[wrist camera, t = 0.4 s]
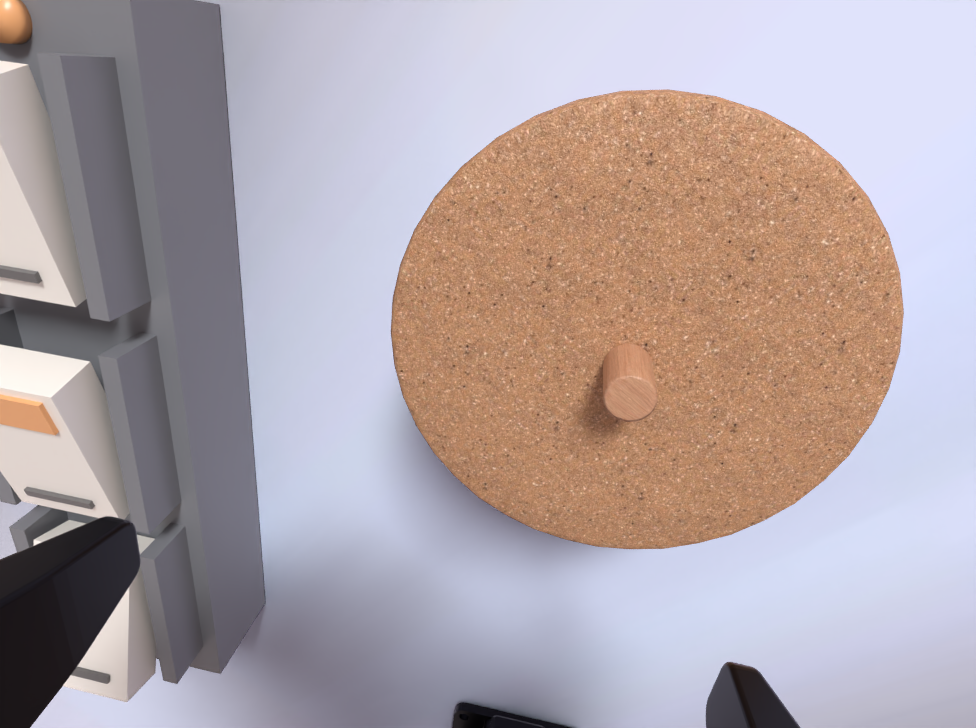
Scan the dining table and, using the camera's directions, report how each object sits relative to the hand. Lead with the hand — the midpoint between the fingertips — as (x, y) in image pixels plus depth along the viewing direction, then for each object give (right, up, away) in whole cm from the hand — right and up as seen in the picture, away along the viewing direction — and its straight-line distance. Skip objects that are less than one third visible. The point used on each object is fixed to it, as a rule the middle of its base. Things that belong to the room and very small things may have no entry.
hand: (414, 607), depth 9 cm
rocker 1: (-14, -6, +14) cm, 21 cm away
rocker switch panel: (-12, +2, +17) cm, 21 cm away
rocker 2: (-13, +1, +11) cm, 17 cm away
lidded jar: (+5, +7, +11) cm, 14 cm away
